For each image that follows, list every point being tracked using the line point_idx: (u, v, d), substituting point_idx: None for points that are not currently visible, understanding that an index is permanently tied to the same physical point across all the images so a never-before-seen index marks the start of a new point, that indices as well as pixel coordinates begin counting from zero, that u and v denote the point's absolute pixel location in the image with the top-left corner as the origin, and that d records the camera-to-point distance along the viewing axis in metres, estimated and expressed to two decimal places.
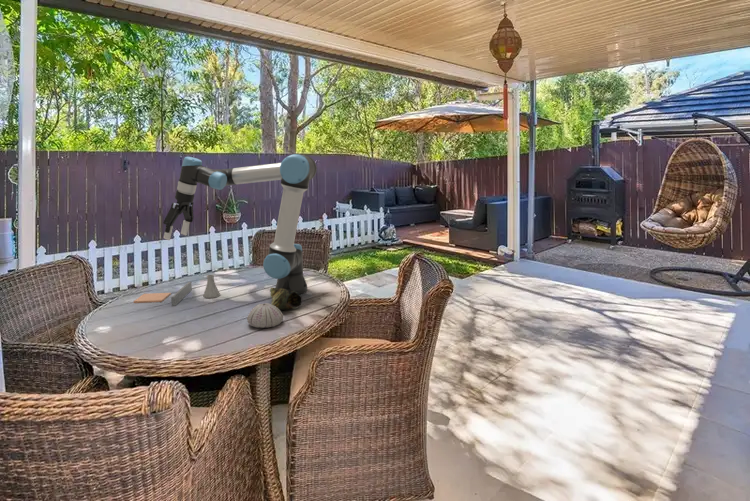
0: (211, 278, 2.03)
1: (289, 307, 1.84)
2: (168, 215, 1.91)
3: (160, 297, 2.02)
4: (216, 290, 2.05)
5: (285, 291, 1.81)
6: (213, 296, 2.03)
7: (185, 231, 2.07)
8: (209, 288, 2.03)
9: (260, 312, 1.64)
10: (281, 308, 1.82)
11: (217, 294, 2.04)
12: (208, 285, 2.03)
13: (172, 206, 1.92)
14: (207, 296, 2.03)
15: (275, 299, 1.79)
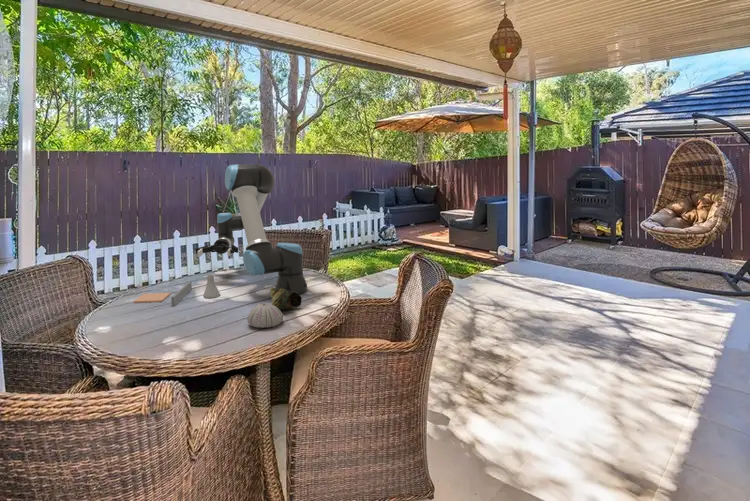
0: (211, 278, 2.03)
1: (289, 307, 1.84)
2: None
3: (160, 297, 2.02)
4: (216, 290, 2.05)
5: (285, 291, 1.81)
6: (213, 296, 2.03)
7: None
8: (209, 288, 2.03)
9: (260, 312, 1.64)
10: (281, 308, 1.82)
11: (217, 294, 2.04)
12: (208, 285, 2.03)
13: None
14: (207, 296, 2.03)
15: (275, 299, 1.80)
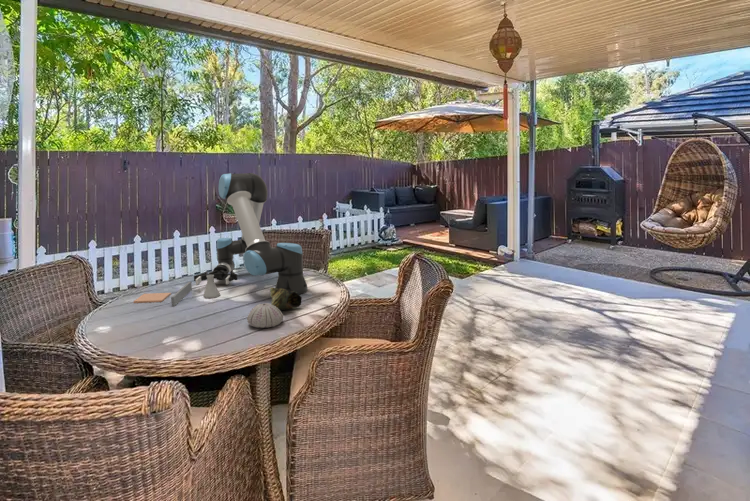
0: (211, 278, 2.03)
1: (289, 307, 1.84)
2: None
3: (160, 297, 2.02)
4: (216, 290, 2.05)
5: (285, 291, 1.81)
6: (213, 296, 2.03)
7: None
8: (209, 288, 2.03)
9: (260, 312, 1.64)
10: (281, 308, 1.82)
11: (217, 294, 2.04)
12: (208, 285, 2.03)
13: None
14: (207, 296, 2.03)
15: (275, 299, 1.79)
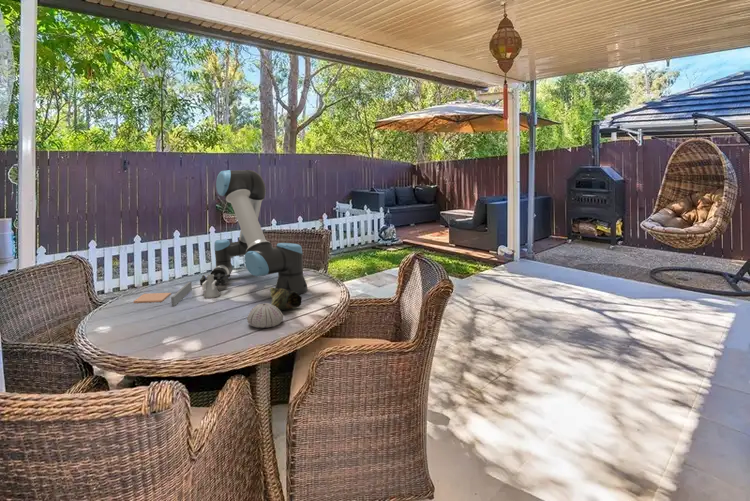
0: (211, 278, 2.03)
1: (289, 307, 1.84)
2: None
3: (160, 297, 2.02)
4: (216, 290, 2.05)
5: (285, 291, 1.81)
6: (213, 296, 2.03)
7: None
8: (209, 288, 2.03)
9: (260, 312, 1.64)
10: (281, 308, 1.82)
11: (217, 294, 2.04)
12: (208, 285, 2.03)
13: None
14: (207, 296, 2.03)
15: (275, 299, 1.79)
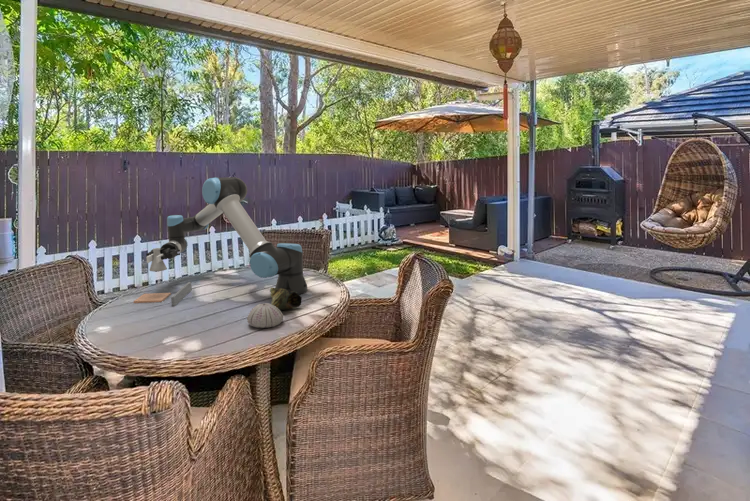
0: (157, 251, 2.00)
1: (289, 307, 1.84)
2: None
3: (160, 297, 2.02)
4: (162, 264, 2.02)
5: (285, 291, 1.81)
6: (159, 269, 2.00)
7: None
8: (155, 261, 2.00)
9: (260, 312, 1.64)
10: (281, 308, 1.82)
11: (163, 268, 2.01)
12: (154, 258, 2.00)
13: None
14: (153, 269, 1.99)
15: (275, 299, 1.79)
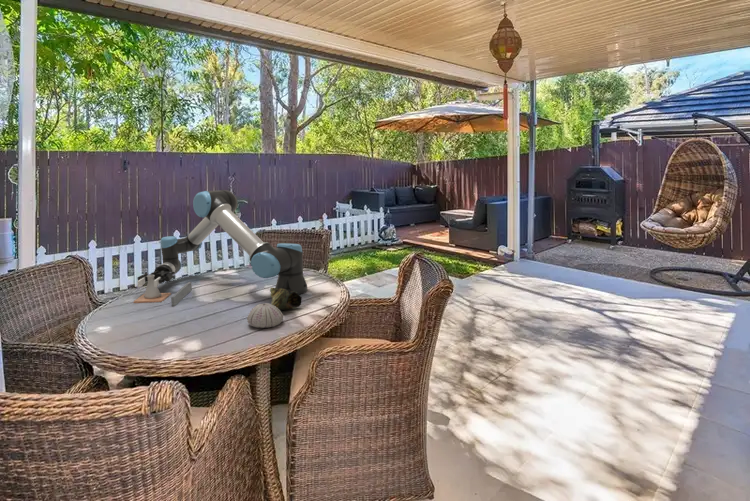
0: (151, 278, 2.00)
1: (289, 307, 1.84)
2: None
3: (160, 297, 2.02)
4: (157, 290, 2.02)
5: (285, 291, 1.81)
6: (153, 296, 2.00)
7: None
8: (149, 288, 2.00)
9: (260, 312, 1.64)
10: (281, 308, 1.82)
11: (157, 295, 2.01)
12: (148, 285, 2.00)
13: None
14: (147, 296, 2.00)
15: (275, 299, 1.79)
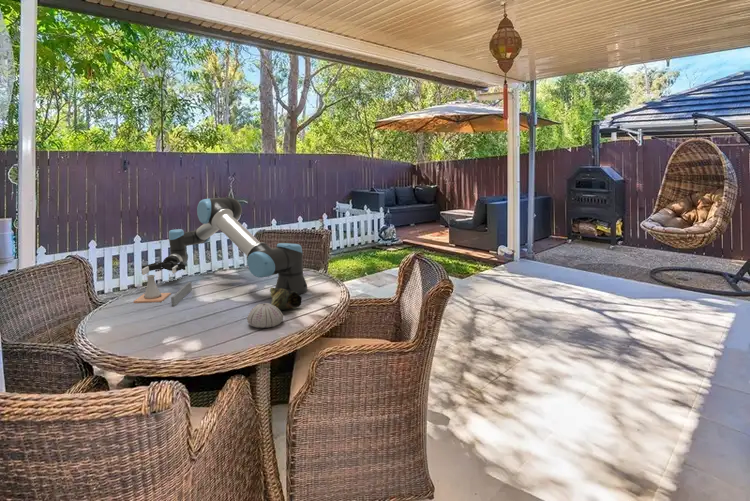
0: (151, 278, 2.00)
1: (289, 307, 1.84)
2: None
3: (160, 297, 2.02)
4: (157, 290, 2.02)
5: (285, 291, 1.81)
6: (153, 296, 2.00)
7: None
8: (149, 288, 2.00)
9: (260, 312, 1.64)
10: (281, 308, 1.82)
11: (157, 295, 2.01)
12: (148, 285, 2.00)
13: None
14: (147, 296, 2.00)
15: (275, 299, 1.79)
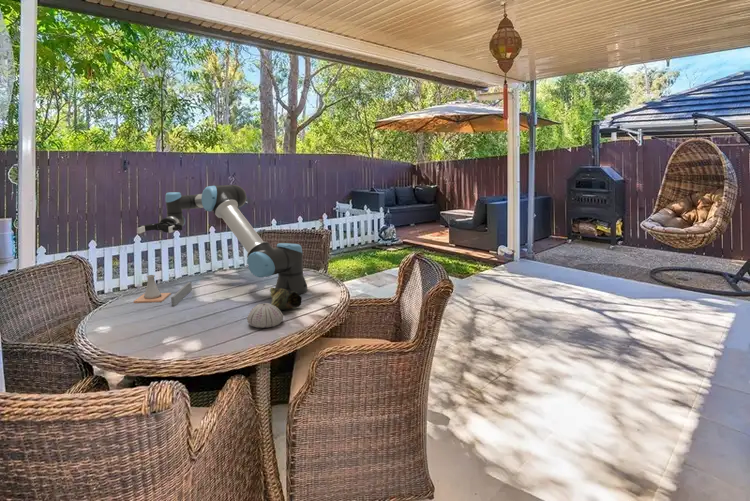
0: (151, 278, 2.00)
1: (289, 307, 1.84)
2: None
3: (160, 297, 2.02)
4: (157, 290, 2.02)
5: (285, 291, 1.81)
6: (153, 296, 2.00)
7: None
8: (149, 288, 2.00)
9: (260, 312, 1.64)
10: (281, 308, 1.82)
11: (157, 295, 2.01)
12: (148, 285, 2.00)
13: None
14: (147, 296, 2.00)
15: (275, 299, 1.79)
